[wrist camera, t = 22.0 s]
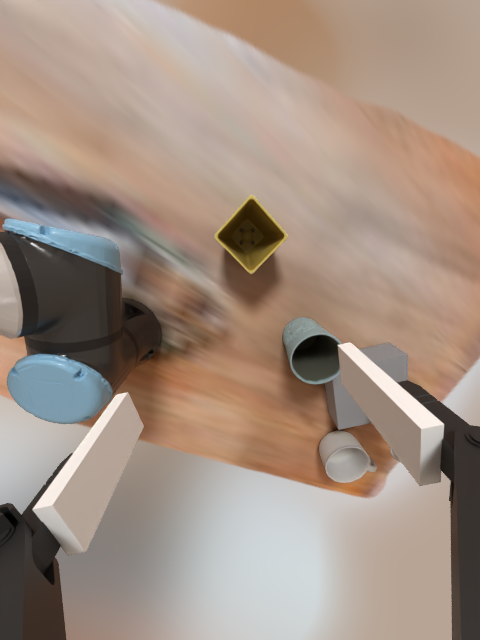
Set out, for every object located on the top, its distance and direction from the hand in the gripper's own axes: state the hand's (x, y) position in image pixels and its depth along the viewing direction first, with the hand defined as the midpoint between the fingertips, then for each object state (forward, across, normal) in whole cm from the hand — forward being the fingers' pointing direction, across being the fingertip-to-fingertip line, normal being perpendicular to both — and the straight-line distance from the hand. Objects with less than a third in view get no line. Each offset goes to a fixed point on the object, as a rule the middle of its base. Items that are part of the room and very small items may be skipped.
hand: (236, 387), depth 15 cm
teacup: (+37, +18, -49) cm, 64 cm away
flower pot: (+37, +5, +8) cm, 38 cm away
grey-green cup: (+37, +12, -15) cm, 42 cm away
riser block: (+37, +24, -30) cm, 53 cm away
